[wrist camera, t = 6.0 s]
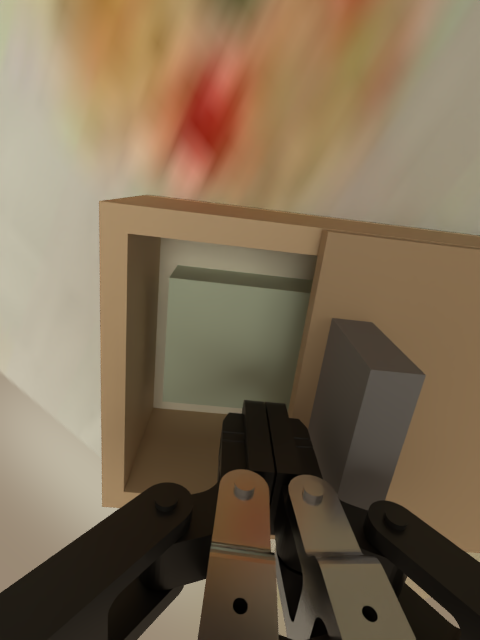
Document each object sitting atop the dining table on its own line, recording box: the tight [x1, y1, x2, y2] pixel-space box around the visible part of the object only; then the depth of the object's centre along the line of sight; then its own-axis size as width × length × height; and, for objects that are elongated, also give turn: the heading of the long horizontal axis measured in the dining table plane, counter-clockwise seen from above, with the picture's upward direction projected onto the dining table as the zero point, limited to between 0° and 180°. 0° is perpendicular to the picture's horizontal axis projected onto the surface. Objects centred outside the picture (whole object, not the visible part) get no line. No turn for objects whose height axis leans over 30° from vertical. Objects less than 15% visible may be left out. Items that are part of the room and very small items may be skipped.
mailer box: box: [99, 195, 480, 508], centre depth 20 cm, size 20×14×8 cm
